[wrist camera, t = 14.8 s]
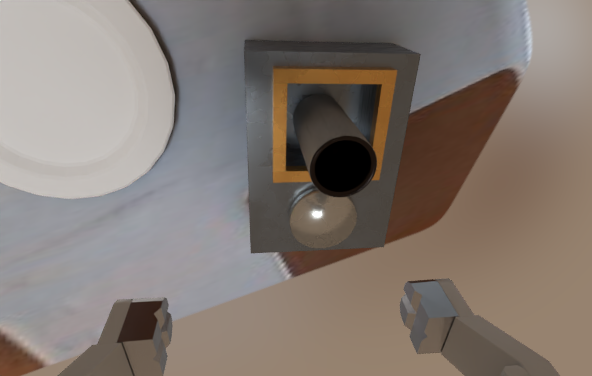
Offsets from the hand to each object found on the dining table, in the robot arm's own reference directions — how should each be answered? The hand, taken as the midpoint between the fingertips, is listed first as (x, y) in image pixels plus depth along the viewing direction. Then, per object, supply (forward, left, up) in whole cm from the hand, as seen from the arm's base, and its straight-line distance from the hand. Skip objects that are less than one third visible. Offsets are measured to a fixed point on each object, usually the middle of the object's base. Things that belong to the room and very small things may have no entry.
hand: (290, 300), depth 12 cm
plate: (-2, -18, -25) cm, 31 cm away
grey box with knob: (+3, +5, -24) cm, 25 cm away
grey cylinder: (+1, +5, -22) cm, 23 cm away
